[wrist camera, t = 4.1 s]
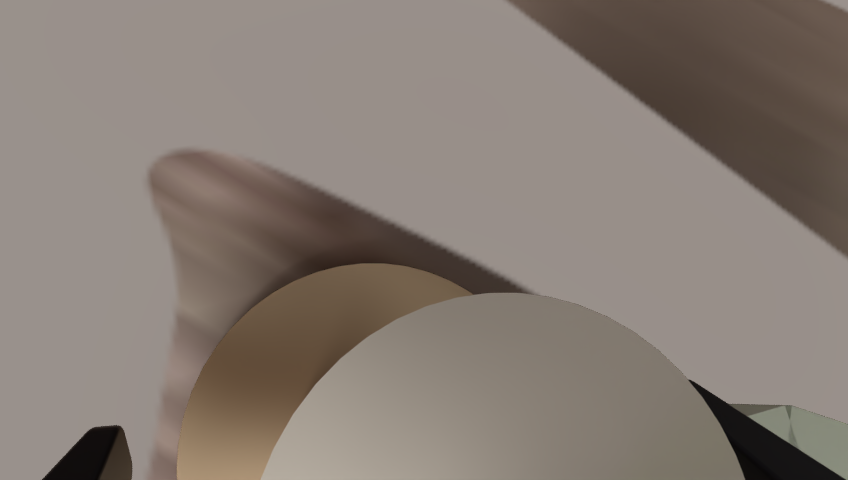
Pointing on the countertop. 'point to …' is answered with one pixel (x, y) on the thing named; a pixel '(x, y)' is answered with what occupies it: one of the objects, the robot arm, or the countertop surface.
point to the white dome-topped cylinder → (503, 402)
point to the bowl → (805, 432)
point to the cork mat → (289, 360)
